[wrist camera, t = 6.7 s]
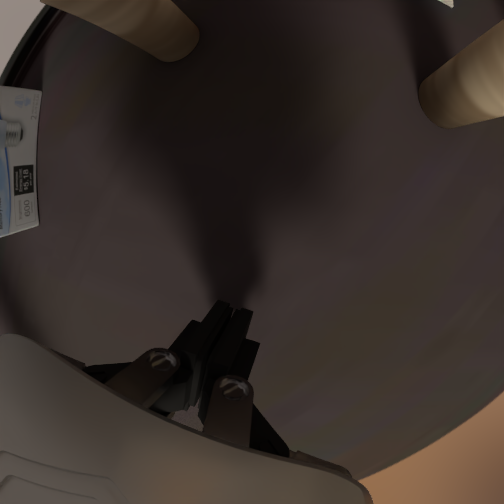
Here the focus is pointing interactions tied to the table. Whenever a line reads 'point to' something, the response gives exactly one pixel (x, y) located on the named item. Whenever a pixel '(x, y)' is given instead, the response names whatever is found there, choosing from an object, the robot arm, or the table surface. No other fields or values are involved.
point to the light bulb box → (18, 158)
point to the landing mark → (447, 2)
